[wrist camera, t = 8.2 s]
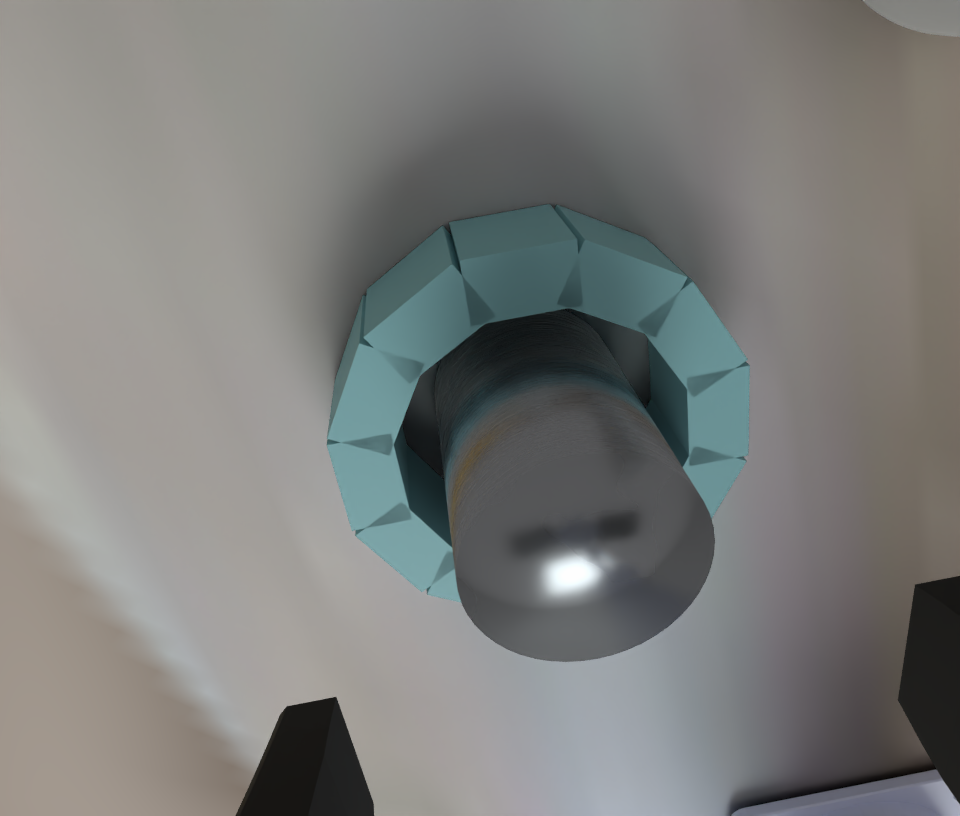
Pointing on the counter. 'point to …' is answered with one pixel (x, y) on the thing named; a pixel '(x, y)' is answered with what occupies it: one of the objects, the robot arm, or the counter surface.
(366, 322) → the teal bead ring
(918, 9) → the beverage can
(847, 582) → the counter surface
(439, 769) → the counter surface
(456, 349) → the steel peg
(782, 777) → the counter surface
